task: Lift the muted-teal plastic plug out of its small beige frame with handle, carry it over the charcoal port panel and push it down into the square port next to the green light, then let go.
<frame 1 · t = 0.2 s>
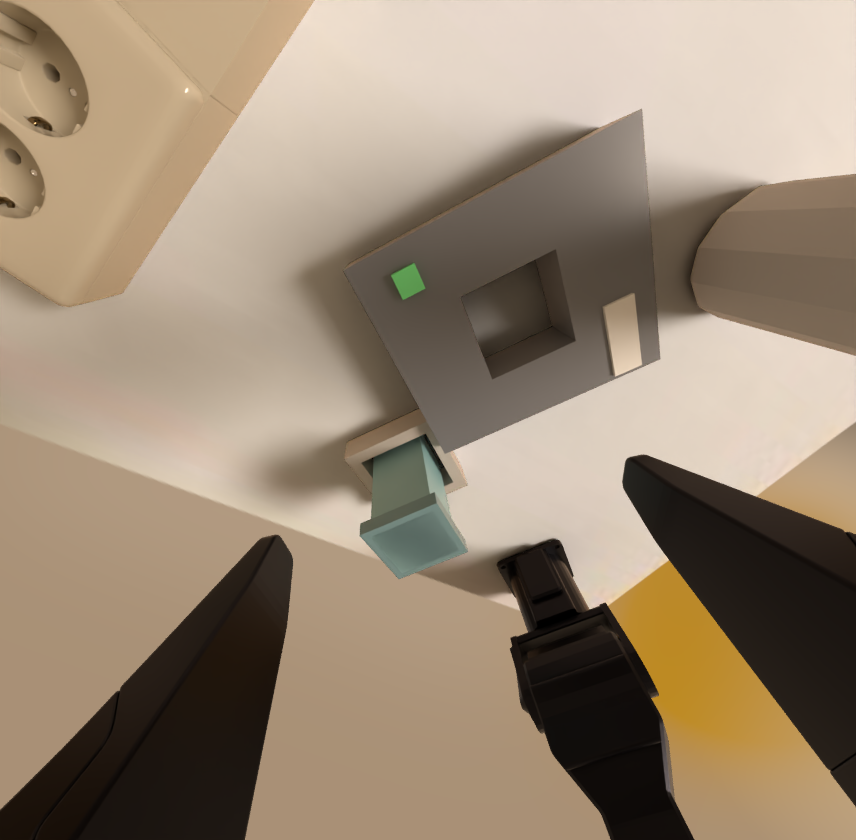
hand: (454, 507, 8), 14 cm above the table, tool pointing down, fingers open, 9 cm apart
electrical outlet: (139, 73, 14), on the table, touching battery
plug: (411, 492, 21), in the beige frame with handle
port panel: (503, 307, 20), on the table
water bottle: (750, 256, 20), on the table
beige frame with handle: (407, 455, 25), on the table
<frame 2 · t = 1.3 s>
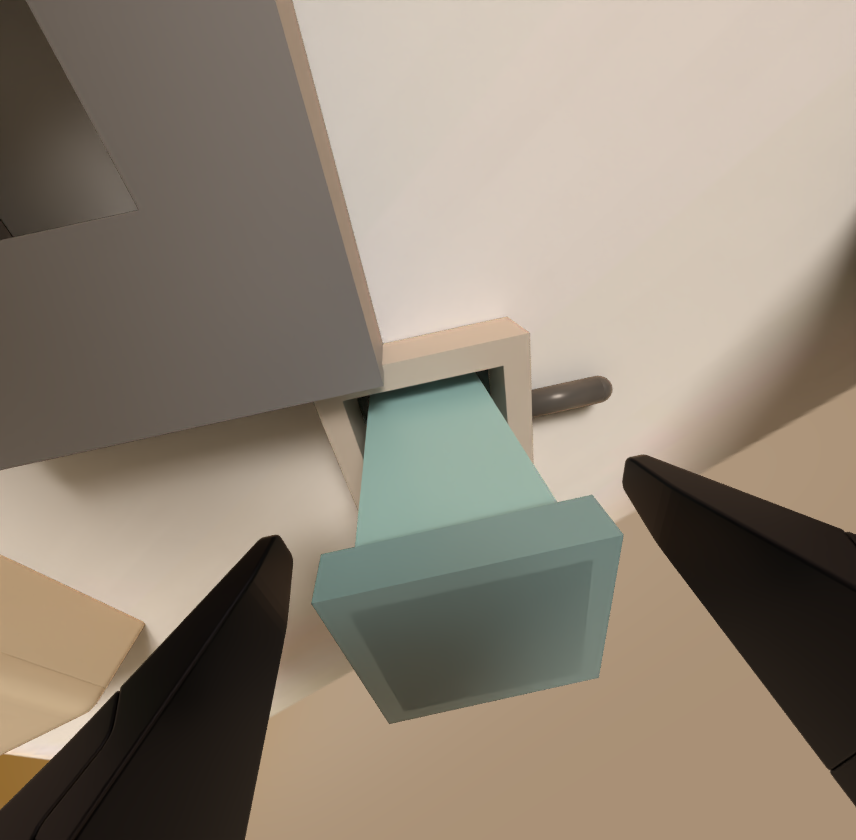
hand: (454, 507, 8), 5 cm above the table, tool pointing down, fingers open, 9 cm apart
plug: (446, 489, 9), in the beige frame with handle
port panel: (46, 111, 7), on the table
beige frame with handle: (429, 419, 13), on the table
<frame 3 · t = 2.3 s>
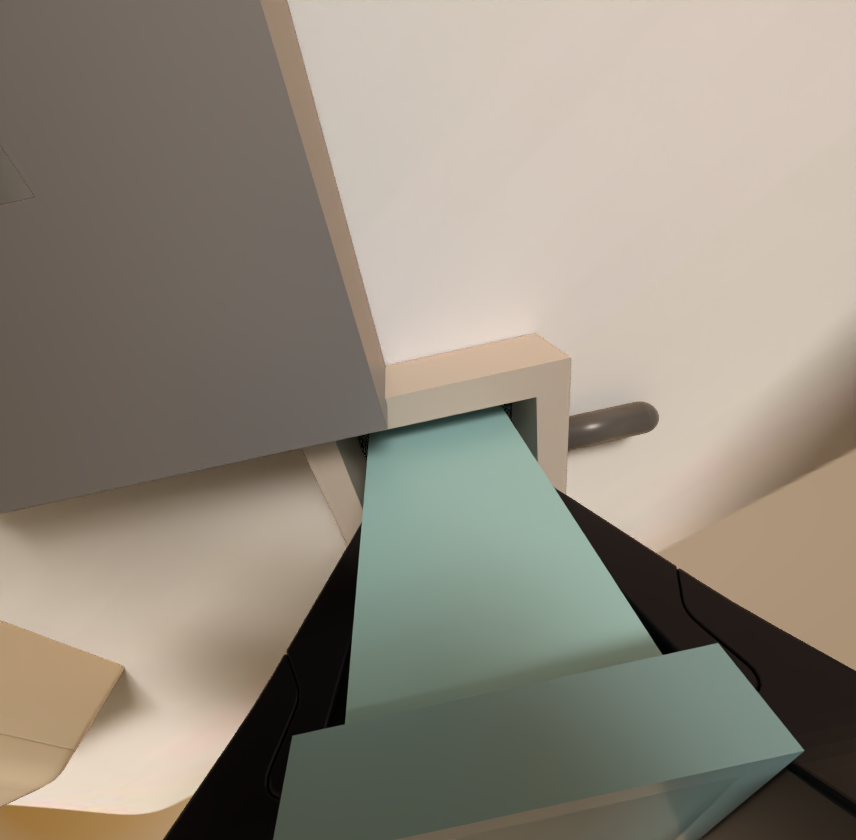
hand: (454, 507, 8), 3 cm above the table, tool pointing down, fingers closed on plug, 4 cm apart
plug: (466, 556, 7), in the beige frame with handle, touching gripper
beige frame with handle: (440, 451, 11), on the table
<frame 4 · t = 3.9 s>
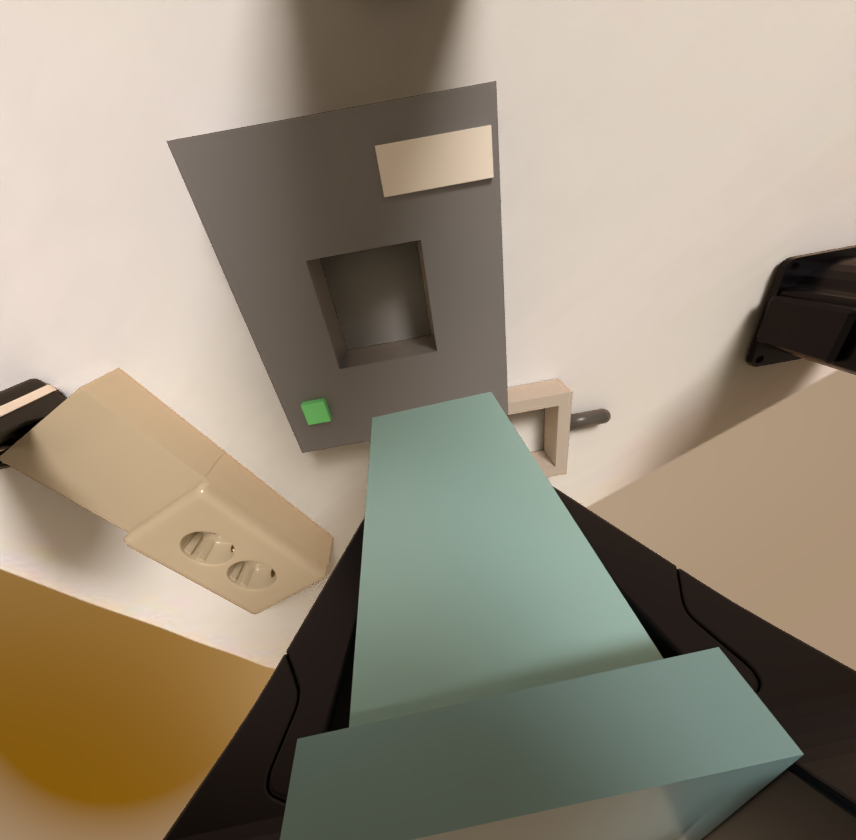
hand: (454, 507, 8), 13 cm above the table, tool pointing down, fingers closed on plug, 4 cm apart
electrical outlet: (214, 487, 24), on the table, touching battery
plug: (467, 558, 7), point 14 cm above the table, touching gripper
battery: (44, 424, 20), on the table, touching electrical outlet
port panel: (379, 298, 18), on the table
beige frame with handle: (510, 428, 23), on the table
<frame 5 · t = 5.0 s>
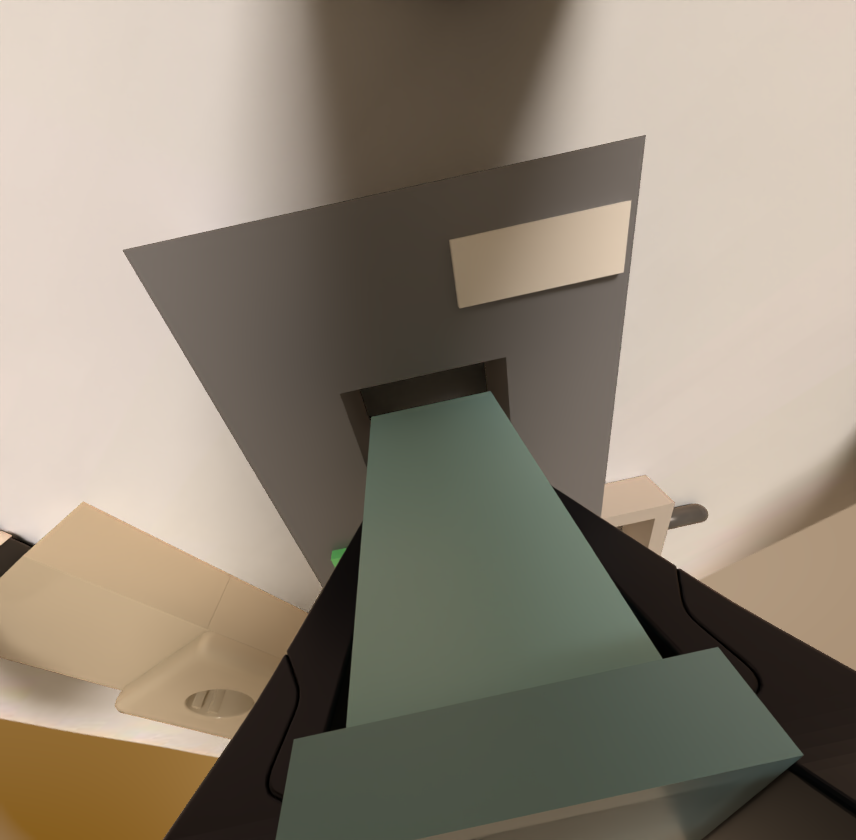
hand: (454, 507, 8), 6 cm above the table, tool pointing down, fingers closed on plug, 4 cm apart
electrical outlet: (223, 607, 20), on the table, touching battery
plug: (466, 558, 7), point 7 cm above the table, touching gripper
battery: (3, 569, 16), on the table, touching electrical outlet
port panel: (427, 403, 14), on the table
beige frame with handle: (581, 530, 19), on the table
when the fingers open (4 cm above the table, at t = 5.7 s): plug drops 1 cm, resting in port panel.
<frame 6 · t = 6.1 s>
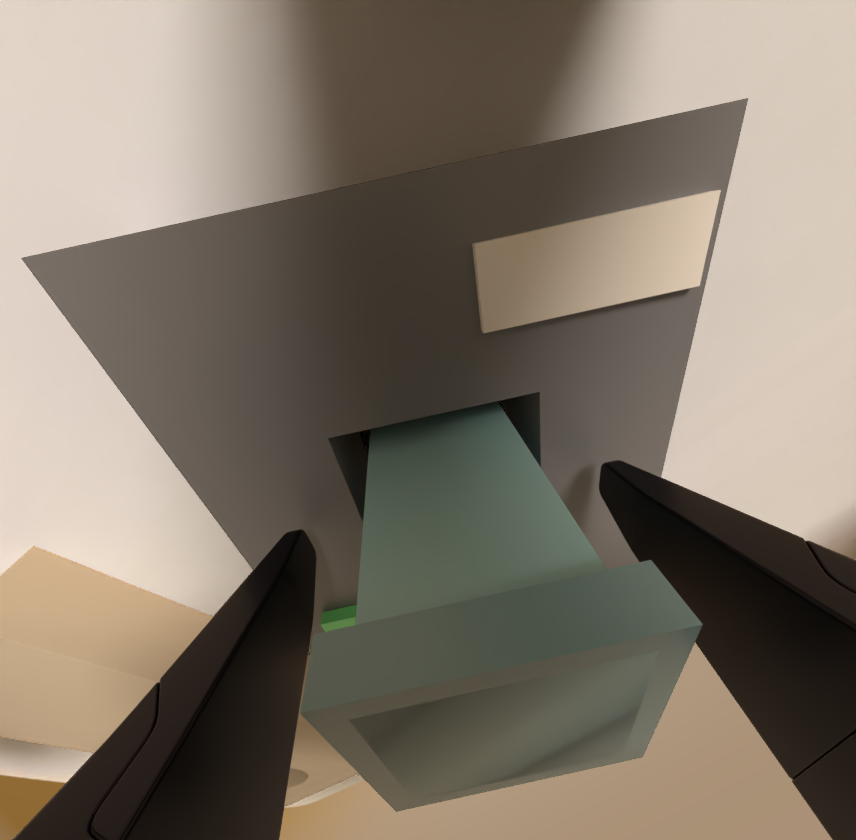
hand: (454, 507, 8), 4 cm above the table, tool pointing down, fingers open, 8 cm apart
electrical outlet: (211, 649, 17), on the table
plug: (458, 522, 8), in the port panel
port panel: (435, 434, 11), on the table
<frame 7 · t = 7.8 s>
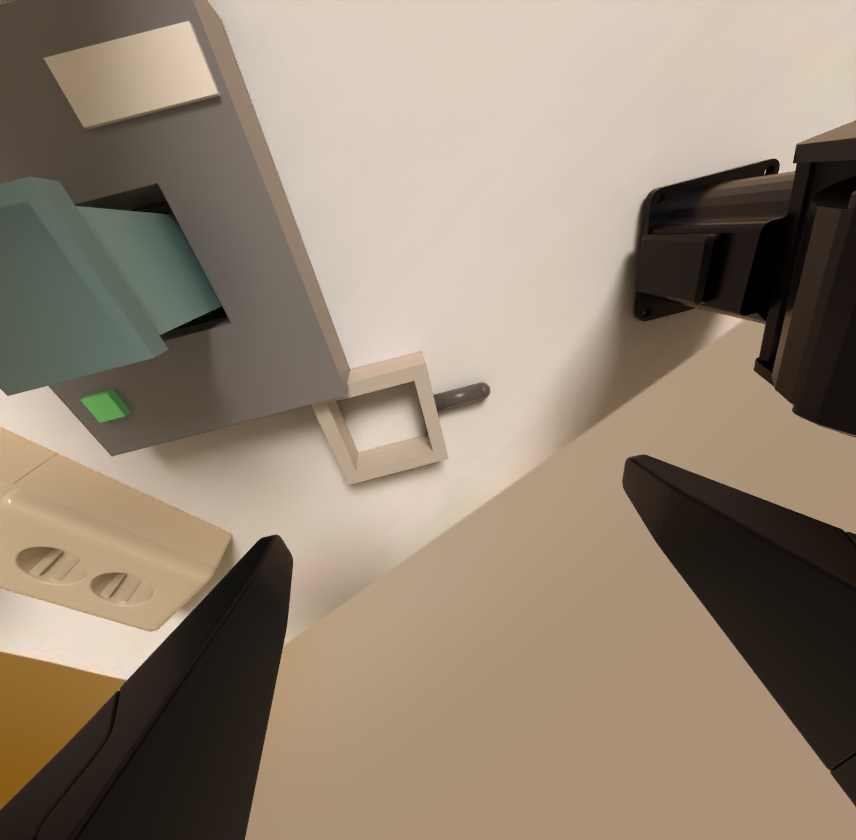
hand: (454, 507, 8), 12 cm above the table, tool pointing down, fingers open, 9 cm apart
electrical outlet: (75, 497, 21), on the table, touching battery
plug: (120, 280, 12), in the port panel
port panel: (176, 269, 15), on the table
beige frame with handle: (382, 412, 20), on the table
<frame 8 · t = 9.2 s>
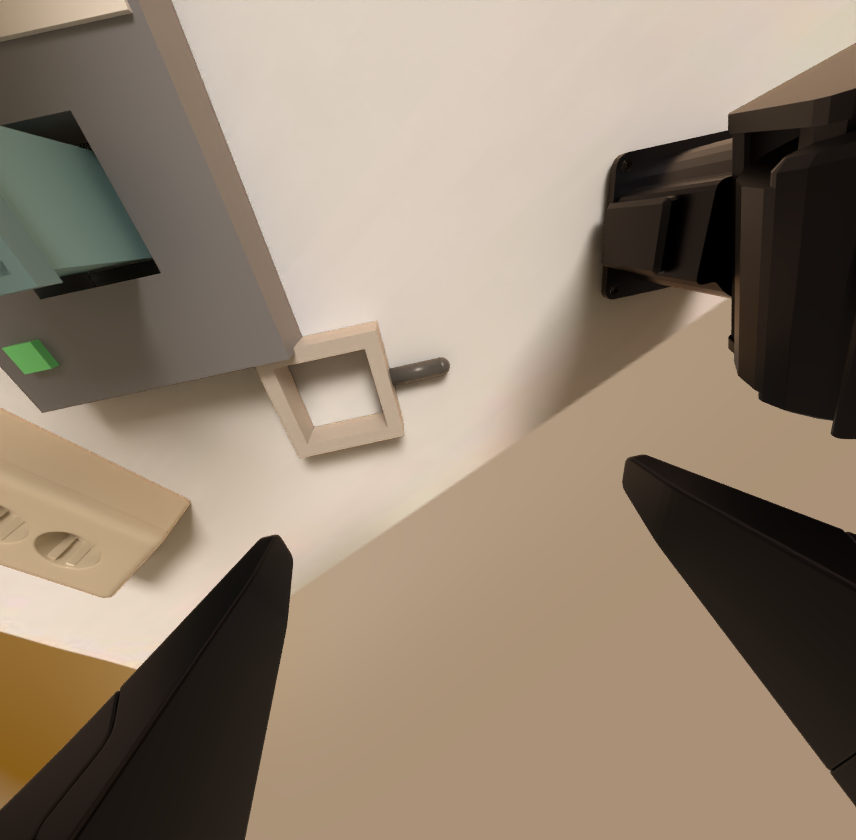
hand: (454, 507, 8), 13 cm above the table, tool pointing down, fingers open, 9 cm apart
electrical outlet: (24, 457, 21), on the table
plug: (31, 215, 11), in the port panel
port panel: (112, 217, 15), on the table
beige frame with handle: (338, 385, 20), on the table
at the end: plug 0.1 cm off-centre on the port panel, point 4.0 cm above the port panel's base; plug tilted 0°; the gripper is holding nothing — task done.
